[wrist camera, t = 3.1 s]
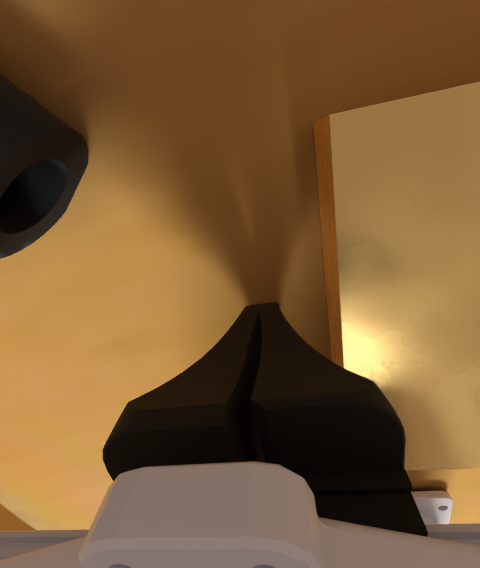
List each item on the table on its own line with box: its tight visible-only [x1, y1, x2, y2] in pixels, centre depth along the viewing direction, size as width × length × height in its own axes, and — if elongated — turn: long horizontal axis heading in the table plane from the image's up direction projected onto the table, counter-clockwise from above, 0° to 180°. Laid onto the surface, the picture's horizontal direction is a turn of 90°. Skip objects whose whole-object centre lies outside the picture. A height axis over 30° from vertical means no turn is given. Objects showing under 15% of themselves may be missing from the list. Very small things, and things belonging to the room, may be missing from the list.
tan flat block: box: [313, 81, 480, 471], centre depth 10 cm, size 14×9×4 cm, turn 11°
